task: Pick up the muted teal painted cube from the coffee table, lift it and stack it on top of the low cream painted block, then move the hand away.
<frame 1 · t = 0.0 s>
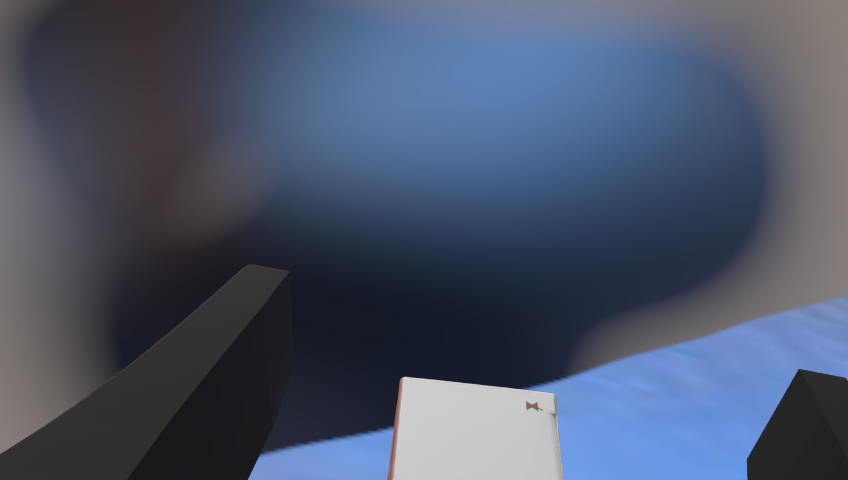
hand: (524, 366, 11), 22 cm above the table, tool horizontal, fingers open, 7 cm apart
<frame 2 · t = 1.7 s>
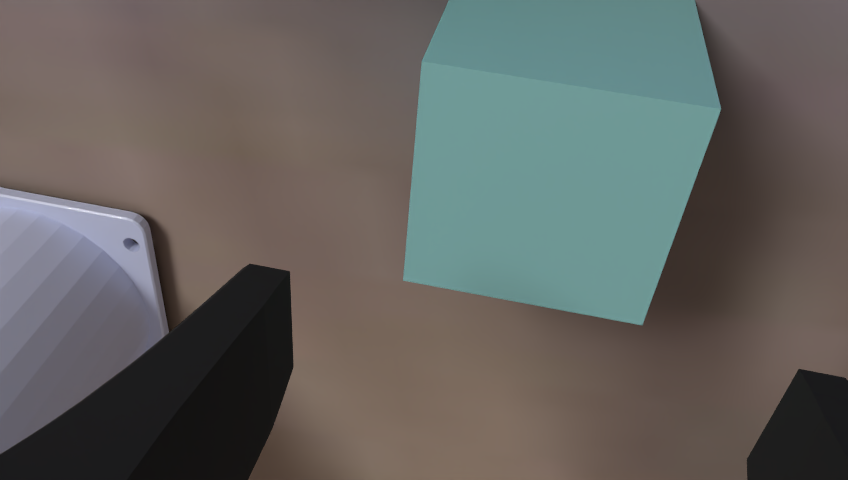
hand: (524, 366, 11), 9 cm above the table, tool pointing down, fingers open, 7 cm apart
teal cube: (556, 85, 18), on the table
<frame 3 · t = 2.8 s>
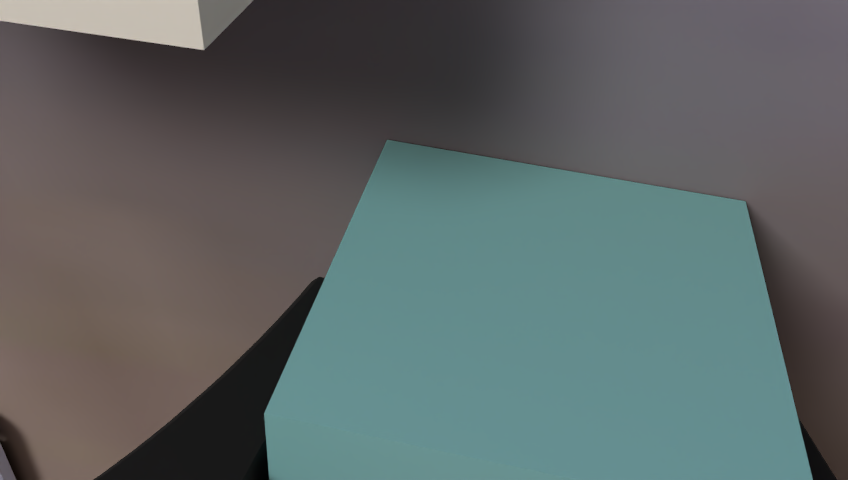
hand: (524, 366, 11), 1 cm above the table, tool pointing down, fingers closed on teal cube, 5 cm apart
teal cube: (531, 300, 12), on the table, touching gripper
when the fingers open (7 cm above the table, at t = 5.3 s): teal cube drops 1 cm, resting on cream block.
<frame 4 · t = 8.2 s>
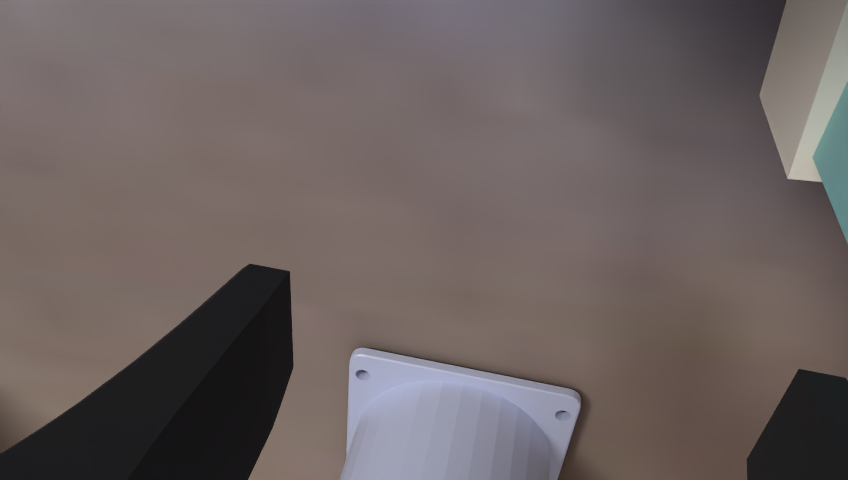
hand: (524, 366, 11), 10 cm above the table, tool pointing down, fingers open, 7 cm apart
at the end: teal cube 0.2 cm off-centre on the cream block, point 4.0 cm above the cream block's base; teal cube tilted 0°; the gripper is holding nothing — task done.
